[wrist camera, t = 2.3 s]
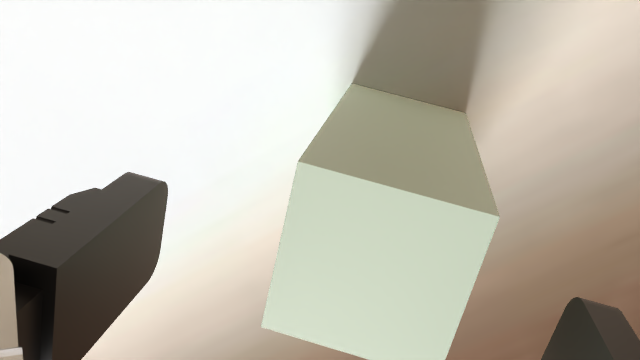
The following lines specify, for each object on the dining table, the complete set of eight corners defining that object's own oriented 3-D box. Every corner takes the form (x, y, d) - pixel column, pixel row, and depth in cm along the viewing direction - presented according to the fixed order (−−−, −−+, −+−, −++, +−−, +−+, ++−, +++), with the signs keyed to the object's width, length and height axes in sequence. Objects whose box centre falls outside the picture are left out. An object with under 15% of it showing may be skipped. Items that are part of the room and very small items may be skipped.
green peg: (465, 112, 19) (499, 216, 11) (431, 216, 20) (437, 380, 12) (352, 83, 19) (297, 161, 11) (326, 187, 21) (260, 326, 12)
